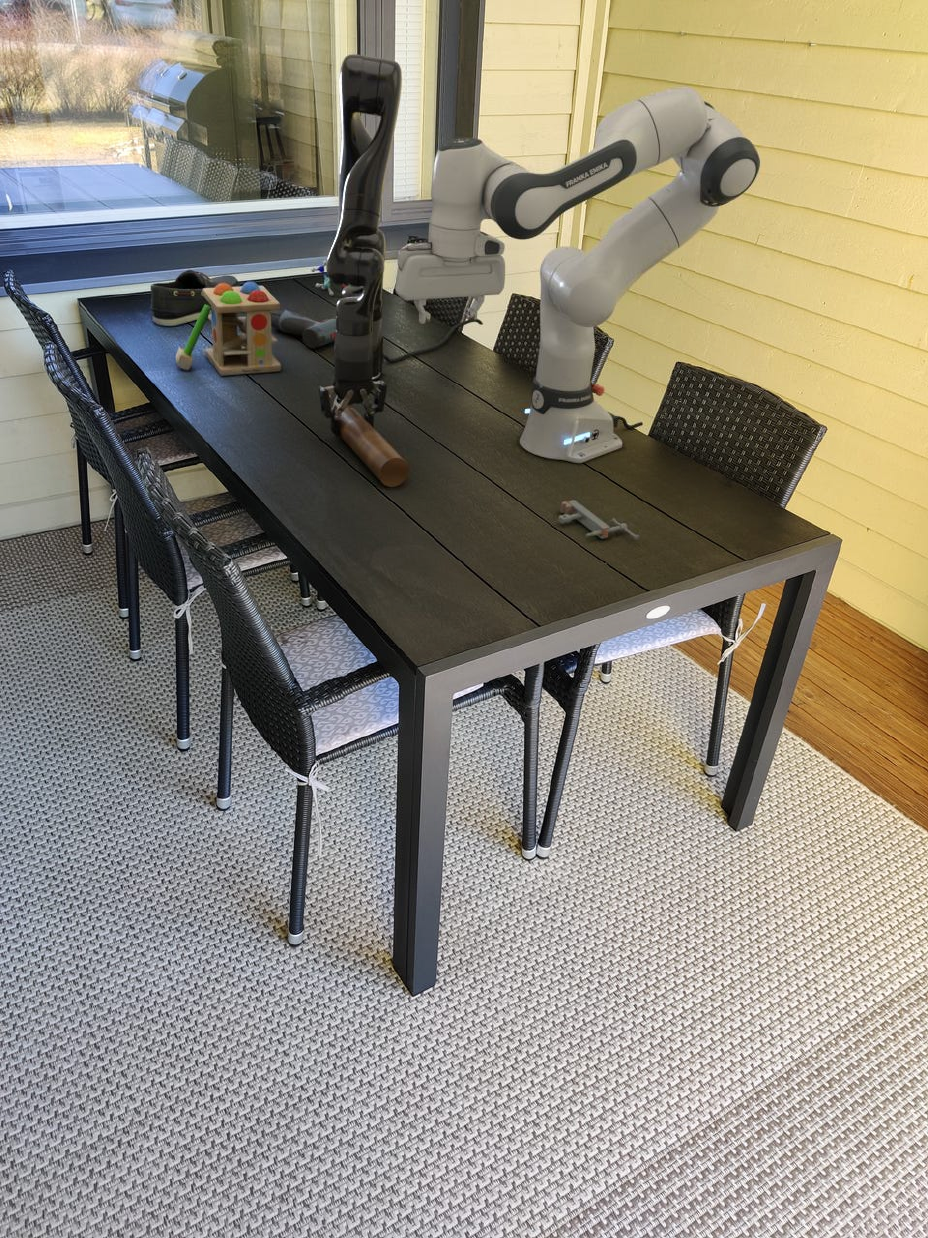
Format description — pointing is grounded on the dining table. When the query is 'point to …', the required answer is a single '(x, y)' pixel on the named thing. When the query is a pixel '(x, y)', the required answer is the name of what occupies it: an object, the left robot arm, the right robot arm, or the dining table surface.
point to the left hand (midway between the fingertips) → (352, 433)
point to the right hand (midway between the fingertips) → (447, 321)
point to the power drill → (304, 327)
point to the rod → (372, 448)
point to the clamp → (582, 515)
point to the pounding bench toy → (229, 347)
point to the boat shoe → (183, 297)
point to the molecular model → (327, 280)
